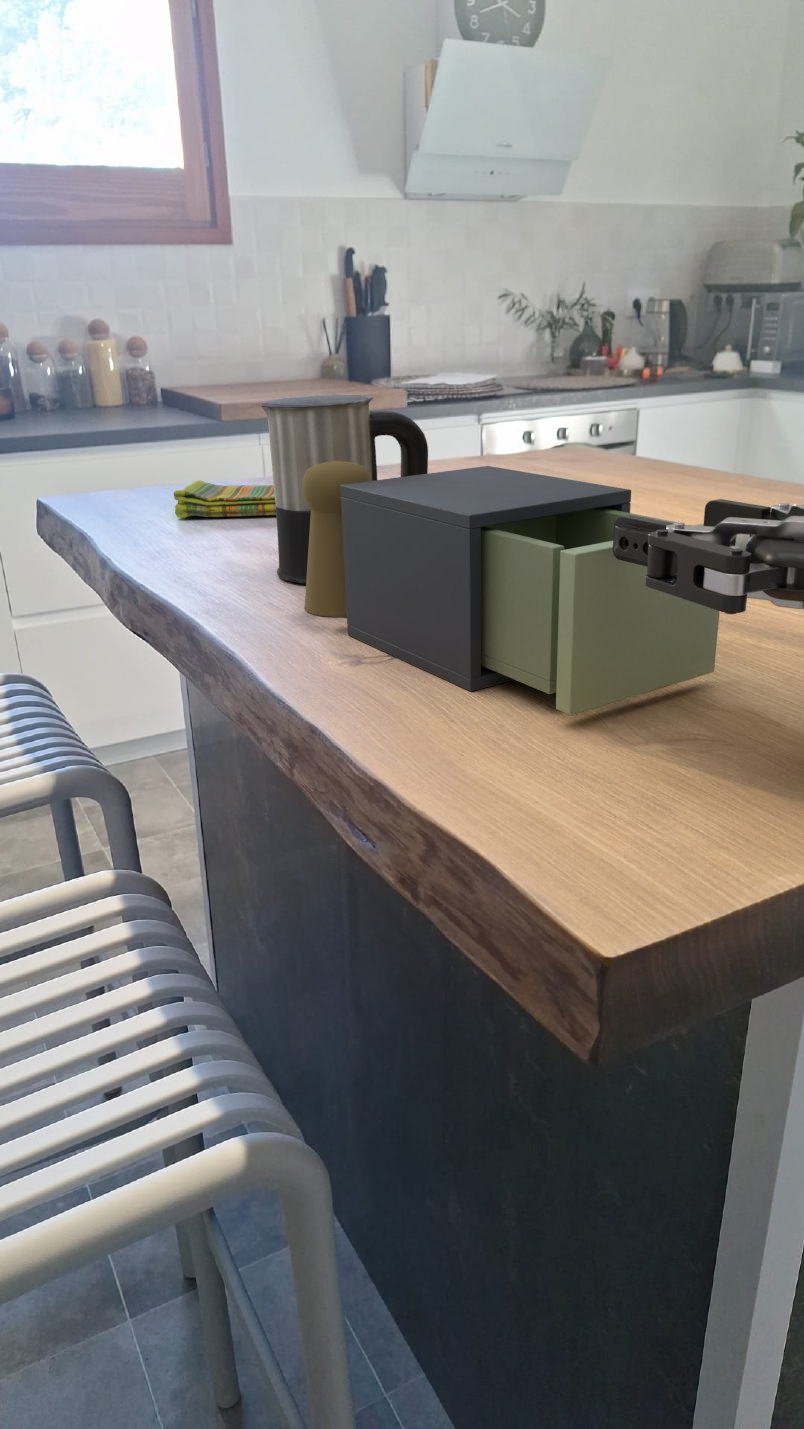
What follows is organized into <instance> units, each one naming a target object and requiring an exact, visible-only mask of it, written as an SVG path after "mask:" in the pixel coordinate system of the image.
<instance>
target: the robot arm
mask: <svg viewBox="0 0 804 1429" xmlns="http://www.w3.org/2000/svg"><path fill="white" fill-rule="evenodd" d="M703 523H704V525H703V526H698V524H686V523H685V522H679V523H671V522H666V521H660V520H655V519H650V518H645V517H640V516H635V515H626V516H620V517H617V518H616V520H615V522H614V533H613V554H614V556H615V557H616V558H617V559H618V560H622V561H626V562H630V563H634V564H638V565H642V566H646V567H647V575H646V586H647V587H650V588H653V589H656V590H659V591H662V592H664V593H667V594H670V595H673V596H676V597H679V598H682V599H685V600H688V601H691V602H694V603H697V604H700V605H703V606H706V607H709V608H712V609H715V610H718V611H720V612H721V613H724V614H726V615H737V614H741V613H745V612H746V610H747V602H748V599H752V600H762V601H769V602H771V604H773V605H774V606H775V607H778V608H787V609H794V610H795V609H796V610H804V504H793V505H791V504H790V503H788V502H779V503H778V504H774V505H771V506H766V505H762V504H761V505H759V504H755V503H748V502H742V501H735V500H728V499H722V498H718V499H713V500H708V501H707V502H706V504H705V506H704V515H703ZM739 534H745V535H750V537H749V539H748V541H747V543H746V549H745V551H743V550H742V549H741V548H740V547H738V546H735V544H736V537H737V535H739Z"/></svg>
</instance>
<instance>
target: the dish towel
mask: <svg viewBox="0 0 804 1429" xmlns="http://www.w3.org/2000/svg"><path fill="white" fill-rule="evenodd" d="M173 498H174V500H175V501H177V503H176V504H175V505H174V514H175V516H176V517H177V518H180V519H184V518H188V517H192V516H193V517H194V516H195V517H205V518H220V517H221V518H222V517H254V516H255V517H257V516H276V507H275V506H276V503H275V494H274V484H267V485H266V484H265V485H264V484H263V485H262V484H259V485H257V484H253V485H251V484H250V485H248V484H247V485H245V484H244V485H239V484H238V485H223V484H215V483H211V482H206V481H204V480H201V479H196V480H195V481H192V482H191V483H189V484H187V486H185V487H184V488H182V489H177V490H174V491H173Z"/></svg>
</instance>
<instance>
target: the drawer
mask: <svg viewBox="0 0 804 1429" xmlns="http://www.w3.org/2000/svg"><path fill="white" fill-rule="evenodd" d="M626 515H635V516H640V517H645V518H650V519H655V520H660V521H666V522H671V523H680V522H679V521H673V520H669V519H663V518H659V517H658V518H657V517H652V516H647V515H644V514H643V515H641V514H637V513H632V512H630V513H627V512H622V511H617V510H611V509H606V508H601V507H600V508H594V509H588V510H582V511H576V512H570V513H564V514H558V515H552V516H546V517H540V518H534V519H528V520H522V521H516V522H510V523H504V524H498V525H492V526H486V527H480V528H481V666H483V667H486V668H488V669H491V670H493V671H495V672H498V673H500V674H502V675H505V676H507V677H510V678H512V679H514V680H513V681H517V682H519V683H521V684H524V685H526V686H529V687H531V688H534V689H536V690H538V691H541V692H542V693H545V694H547V695H553V694H555V709H556V710H557V711H559V712H562V713H564V714H567V715H569V716H572V715H575V714H579V713H582V712H586V711H589V710H593V709H595V708H598V707H602V706H605V705H609V704H612V703H615V702H619V701H623V700H625V699H628V698H632V697H636V696H639V695H643V694H645V693H649V692H653V691H655V690H659V689H662V688H665V687H669V686H672V685H677V684H678V683H679V684H680V683H683V682H686V681H688V680H692V679H696V678H699V677H703V676H707V675H709V674H713V673H714V672H715V669H716V668H715V667H716V656H717V645H718V634H719V622H720V612H721V611H718V610H715V609H712V608H709V607H706V606H703V605H700V604H697V603H694V602H691V601H688V600H685V599H682V598H679V597H676V596H673V595H670V594H667V593H664V592H662V591H659V590H656V589H653V588H650V587H647V586H646V575H647V567H646V566H642V565H638V564H634V563H630V562H626V561H622V560H618V559H617V558H616V557H615V556H614V554H613V533H614V522H615V520H616V518H617V517H620V516H626ZM697 525H698V526H703V525H704V522H703V523H698V524H697ZM749 537H750V535H745V534H739V535H737V537H736V544H735V546H738V547H740V548H741V549H742V550H743V551H745V549H746V543H747V541H748V539H749Z"/></svg>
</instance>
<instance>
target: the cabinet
mask: <svg viewBox="0 0 804 1429" xmlns="http://www.w3.org/2000/svg"><path fill="white" fill-rule="evenodd" d="M340 488H341V510H342V530H343V550H344V569H345V589H346V609H347V617H346V624H347V635H348V636H349V637H351V638H354V639H356V640H358V641H360V642H362V643H365V644H367V645H369V646H371V647H373V648H375V649H377V650H380V651H382V652H384V653H386V654H388V655H389V656H392V657H395V658H397V659H399V660H401V661H403V662H405V663H408V664H410V665H412V666H414V667H416V668H419V669H421V670H422V671H425V672H428V673H430V674H432V675H434V676H436V677H438V678H440V679H442V680H444V681H446V682H449V683H450V684H453V685H455V686H457V687H460V688H461V689H464V690H466V691H468V692H474V691H478V690H481V689H485V688H489V687H494V686H497V685H500V684H504V683H508V682H511V681H515V680H514V679H512V678H510V677H507V676H505V675H502V674H500V673H498V672H495V671H493V670H491V669H488V668H486V667H483V666H481V528H480V527H486V526H492V525H498V524H504V523H510V522H516V521H522V520H528V519H534V518H540V517H546V516H552V515H558V514H564V513H570V512H576V511H582V510H588V509H594V508H600V507H601V508H606V509H611V510H617V511H622V512H627V513H631V502H632V490H631V489H628V488H623V487H616V486H610V485H605V484H599V483H592V482H586V481H581V480H576V479H570V478H569V479H568V478H563V477H556V476H551V475H545V474H540V473H533V472H527V471H521V470H517V469H516V470H515V469H510V468H504V467H497V466H491V465H484V466H476V467H475V466H474V467H468V468H460V469H453V470H444V471H437V472H436V471H435V472H430V473H429V472H428V474H421V475H413V476H405V477H401V476H399V477H398V476H397V477H391V478H390V477H389V478H382V479H377V480H375V481H367V482H359V483H351V484H344V485H341V486H340Z"/></svg>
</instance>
